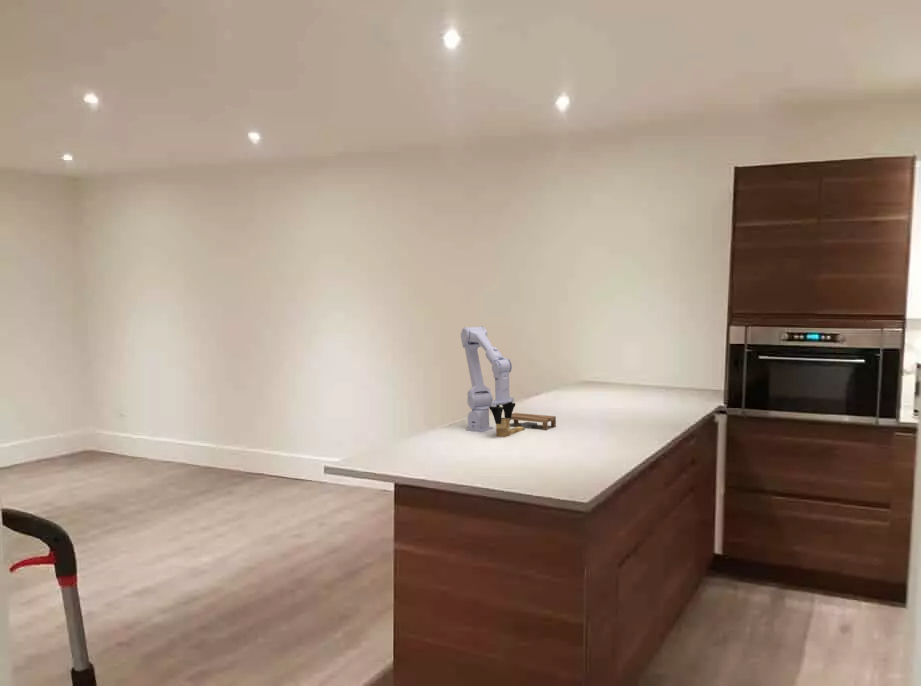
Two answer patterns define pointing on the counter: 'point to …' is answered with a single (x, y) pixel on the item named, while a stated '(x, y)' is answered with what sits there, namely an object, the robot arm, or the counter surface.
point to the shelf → (534, 419)
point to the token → (529, 425)
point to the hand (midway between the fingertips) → (503, 422)
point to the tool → (506, 428)
